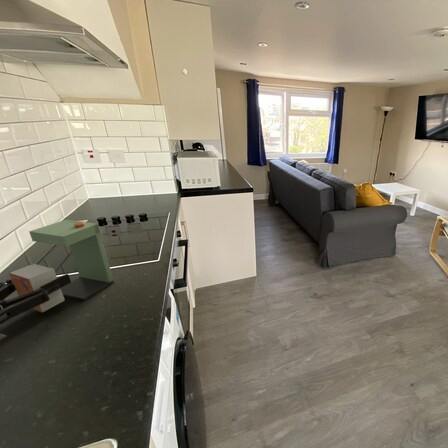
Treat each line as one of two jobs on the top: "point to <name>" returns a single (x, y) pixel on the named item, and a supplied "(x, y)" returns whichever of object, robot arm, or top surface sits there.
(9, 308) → the robot arm
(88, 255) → the coffee maker
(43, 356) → the top surface
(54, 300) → the small box
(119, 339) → the top surface
